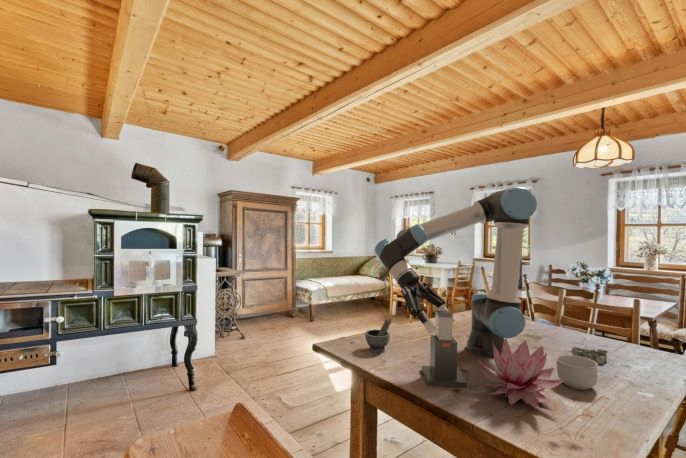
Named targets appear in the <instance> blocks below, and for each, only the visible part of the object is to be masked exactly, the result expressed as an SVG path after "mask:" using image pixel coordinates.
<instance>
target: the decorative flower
mask: <svg viewBox="0 0 686 458" xmlns="http://www.w3.org/2000/svg"><path fill="white" fill-rule="evenodd" d="M504 339H505V340H504V342H503V347H502V353H501V354H502V356H501V355H500V353H499V352H498V350H497V349H496V347H494V343H493V349H494V354H493V360H494V363H495V366H496V368H497V370H498V371H499V373H498V372H497V371H495V370H493V369H491V368H490V367H488V366H487V365H485V364H484V362H482V361H481V360H478V362H479V363H480V364H481V366H482V367H483V368H484V369H485V370H486V371H488V373H490V374H492V375H493V376H495V377H493V376H492V375H490V374H488V373H486V372H485V371H483V370H481V373H483V374H484V375H485V376H486V377H487V378H489V379H490V380H493V381H494V382H497V383H498V384H492V383H487V385H488V386H491V387H500V388H499V389H498V390H496V391H493V392H490V393H489V395H495V396H496V395H497V396H498V395H503V394H505V395H504V396H503V398H508V403H509V404H510V405H514V404H515V403H516V402H517V403H518V402H519V400H521V401H523V403H524V404H525V405H527V406H528V404H529V405H530V406H532V407H533V408H535V409H540V407H539V403H538V400H539V401H541V402H546V403H550V404H552V403H554V402H553V401H552V400H550V399H549V398H548V397H547V396H546V395H544V394H543V393H546V391H545V390H548V389H552V388H556V387H557V386H559V385H560V384H562V383H564V380H560V379H558V380H557V379H550V378H551V376H552V374H553V373H554V370H555V368H554V367H551V368H546V369H544V367H545V364H546V362H547V354H548V353H547V352H545V351H544V347H543V346H542V345H541V346H540V347H538V348H537V349H536V350H534V352H532V353H531V354H530V350H529V349H530V348H529V346H528V342H527V340H523V341H522V342H521V343H520V344H519V346H517V348H516V350H515V351H514V353H513V352H512V350H511V348H510V345H509V343H508V338H504ZM544 352H545V353H544ZM496 377H497V378H496ZM499 383H500V384H499Z"/></svg>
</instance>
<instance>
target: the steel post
mask: <svg viewBox="0 0 686 458" xmlns="http://www.w3.org/2000/svg"><path fill="white" fill-rule="evenodd" d="M434 314H435V324H434V326H435V327H436V329H435V331H434V332H435V333H434V335H435V338H436V339H437V341H452V337H453V323H452V318H453V317H454V316H453V313H452V312H451V311H450V310H448V311H438V310H435V312H434Z"/></svg>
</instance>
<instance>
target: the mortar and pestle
mask: <svg viewBox="0 0 686 458" xmlns="http://www.w3.org/2000/svg"><path fill="white" fill-rule="evenodd" d="M391 324H392V321H391V320H389V319H386V318H385V319H384V322H383V324H382V326H381V328H380V329H369V330H366V331H365V334H364V335H365V337H364V338H365V341H366V343H367V345H368V346H369V351H370V353H373V354H382V353H385V351H386V348H385V347H386V346H388V344H389V342H390V339H391V338H390V335H391V334H390V333H389V332H388V330H389V328H390V325H391Z"/></svg>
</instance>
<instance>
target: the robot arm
mask: <svg viewBox="0 0 686 458" xmlns="http://www.w3.org/2000/svg"><path fill="white" fill-rule="evenodd" d="M537 206H538V201H537V198H536V196H535V194H533V193H532V191H531V190H529V189H528V188H526V187H523V186H514V187H513V186H512V187H508V188H505V189H502V190H498V191H495V192H493V193H491V194H489V195H488V196H485V197H483V198H481V199H479V200H476V201H474V202H473V204H472V205H469V206H467V207H464V208H462V209H461V208H460V209H458V210H455V211H452V212H450V213H448V214H444V215H441V216H440V217H436V218H434V219H431V220H428V221H424V222H423V223H420V224H418V223H417V224H414V225H412V226H411V227H409V228H406V229H402V230H400V231H398V232H397V234H396V238H395V239H393V240H391V239H390V238H385V239H384V238H383V239H382V240H380V241H378V243H376V245H375V247H374V253H375V254H376V255H377V257H378V258H379V260H380V261H381V263H382V264H383V266H384V267H385V268H386V269H387V271H388V272H389V274H390V275H391V276H392V278H393V279H394V280H395V282H396V283H397V285H398V286H399V287H400V288H401V290H400V293H401V295H402V296H403V299H404V302H405V305H406V307H407V309H408V310H407V311H408V313H409V315H410V316H412V317H413V318H416V317H417V318H418V320H419V321H420V323H421V324H422V325H423V327H424V328H425V329H426V331H427V332H428V333H429V334H431V333H433V332H435V331H434V330H435V329H436V327H435V324H434V323H433V321H432V320H431V319H430V317H429V316H428V315H427V313H426V312H425V311H424V310H422V307H421V302H420V299H421V300H426V301H427V302H428V303H430V304H432V305H433V306H435V307H437V311H449V310H448V308H447V307H446V306H445V305H446V300H445V299H444V298H443V297H442V296H440V295H439V294H438V293H437V292H436V291H434V289H432V288H431V287H430V286H429V285H428V284H427V283H426V282H423V283H422V284H421V283H420V276H419V274H417V272H416V271H415V269H414V268H413V267H412V266H411V264H410V263H409V262H408V261H407V260H406V258H405V257H407V256H408V255H410V254H411V253H413V252H414V251H415V250H418V248H420V247H421V246H423V245H424V244H426V243H427V242H429V241H432V240H434V239H437V238H440V237H443V236H446V235H448V234H452V233H454V232H457V231H460V230H464V229H466V228H468V227H470V226H473V225H476V224H482V225H483V224H486V223H487V224H488V223H490V222H493V224H494V225H495V226H496V228H497V233H496V240H495V252H494V262H493V263H494V264H493V270H492V271H493V273H492V284H491V292H489V293H473V294H472V296H471V301H470V302H471V328H470V329H471V331H470V332H469V335H468V338H467V341H466V349H467V350H468V351H469V352H471V353H474V354H477V355H479V356H484V357H491V358H492V357H493V354H494V349H493V343H494V347H496V349H497V350H498V352H499V353H500V355H501V356H502V354H501V353H502V347H503V342H504V340H505V338H506V339H512V338H516V337H517V336H518V335H520V334H521V333H522V332H523V331H524V329H525V327H526V316H525V314H524V313H523V312H522V300H521V299H520V297H519V296H518V290H519V280H520V269H521V260H522V250H523V249H522V248H523V238H524V231H525V229H527V228H528V227H529V226H530V219H531V217H532V216H533V215H534V214H535V213H536V210H537V208H538V207H537ZM455 321H456V318H455V317H454V316H453V318H452V324H453V323H454V322H455ZM493 358H494V357H493Z"/></svg>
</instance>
